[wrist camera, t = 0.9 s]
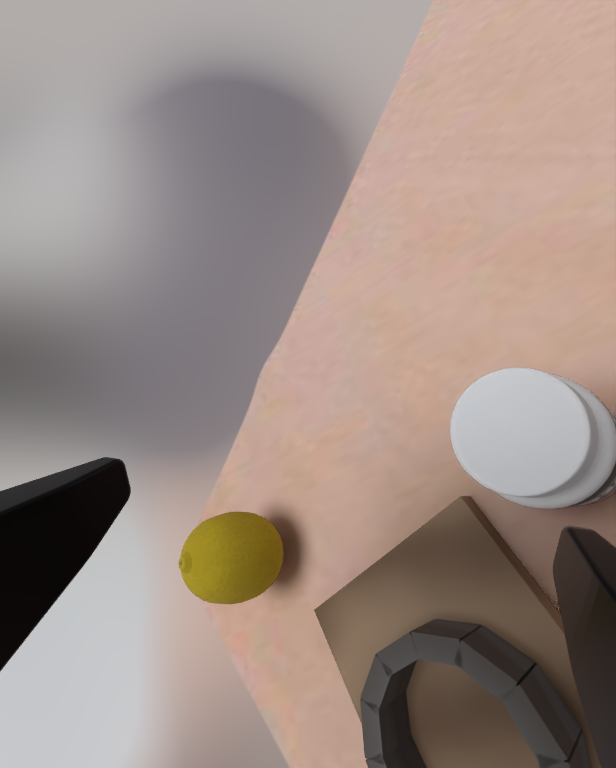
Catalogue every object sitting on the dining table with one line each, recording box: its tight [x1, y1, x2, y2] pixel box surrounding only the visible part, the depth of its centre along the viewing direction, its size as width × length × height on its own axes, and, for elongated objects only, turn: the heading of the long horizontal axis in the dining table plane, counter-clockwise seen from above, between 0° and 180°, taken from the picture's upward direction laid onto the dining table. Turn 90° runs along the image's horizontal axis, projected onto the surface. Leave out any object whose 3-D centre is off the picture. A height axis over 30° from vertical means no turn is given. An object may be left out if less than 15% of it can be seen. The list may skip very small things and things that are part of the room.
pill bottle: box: [450, 368, 616, 509], centre depth 15 cm, size 5×5×8 cm
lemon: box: [179, 512, 284, 604], centre depth 26 cm, size 6×6×8 cm
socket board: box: [314, 496, 601, 768], centre depth 17 cm, size 16×12×4 cm
